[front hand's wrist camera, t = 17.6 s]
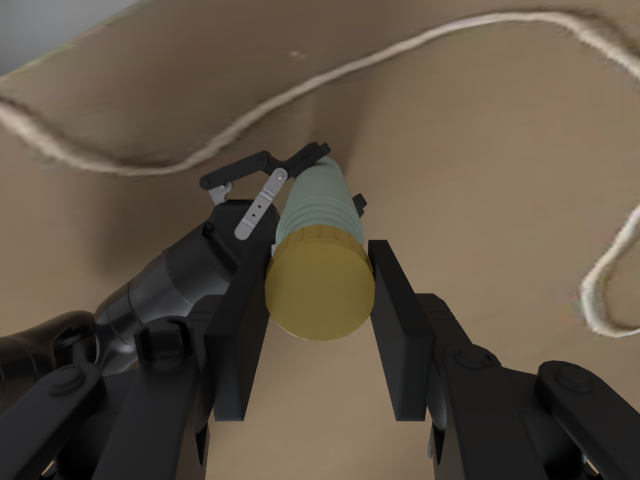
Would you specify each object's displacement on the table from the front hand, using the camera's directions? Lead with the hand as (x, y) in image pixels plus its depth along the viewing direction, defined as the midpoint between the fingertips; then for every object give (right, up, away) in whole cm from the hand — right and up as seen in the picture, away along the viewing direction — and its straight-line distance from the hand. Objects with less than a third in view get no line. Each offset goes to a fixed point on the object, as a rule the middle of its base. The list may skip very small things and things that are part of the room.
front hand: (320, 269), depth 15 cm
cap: (0, -1, -2) cm, 2 cm away
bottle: (0, +8, +21) cm, 22 cm away
